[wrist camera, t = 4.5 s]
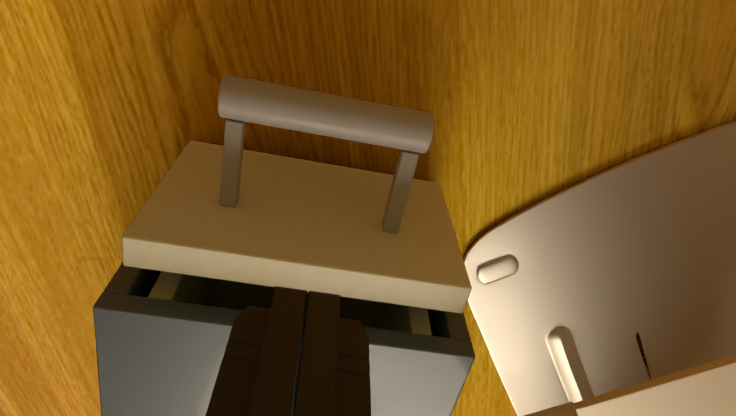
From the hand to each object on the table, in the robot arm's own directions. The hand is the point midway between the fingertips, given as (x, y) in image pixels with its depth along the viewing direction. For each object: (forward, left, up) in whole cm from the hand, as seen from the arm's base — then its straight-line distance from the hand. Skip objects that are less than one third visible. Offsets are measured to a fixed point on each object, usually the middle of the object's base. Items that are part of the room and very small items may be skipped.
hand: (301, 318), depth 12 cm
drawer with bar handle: (0, -6, -12) cm, 14 cm away
